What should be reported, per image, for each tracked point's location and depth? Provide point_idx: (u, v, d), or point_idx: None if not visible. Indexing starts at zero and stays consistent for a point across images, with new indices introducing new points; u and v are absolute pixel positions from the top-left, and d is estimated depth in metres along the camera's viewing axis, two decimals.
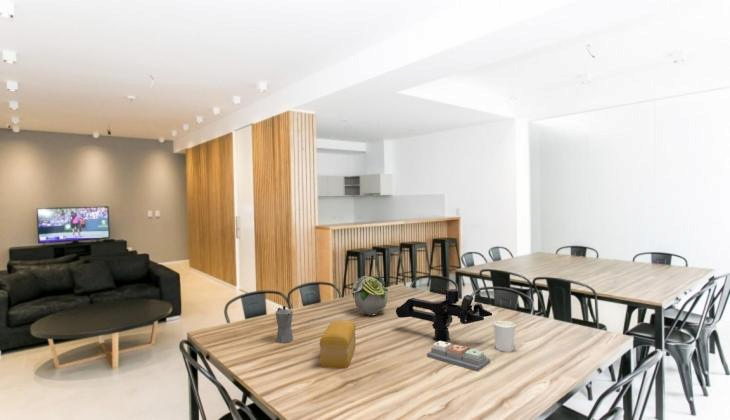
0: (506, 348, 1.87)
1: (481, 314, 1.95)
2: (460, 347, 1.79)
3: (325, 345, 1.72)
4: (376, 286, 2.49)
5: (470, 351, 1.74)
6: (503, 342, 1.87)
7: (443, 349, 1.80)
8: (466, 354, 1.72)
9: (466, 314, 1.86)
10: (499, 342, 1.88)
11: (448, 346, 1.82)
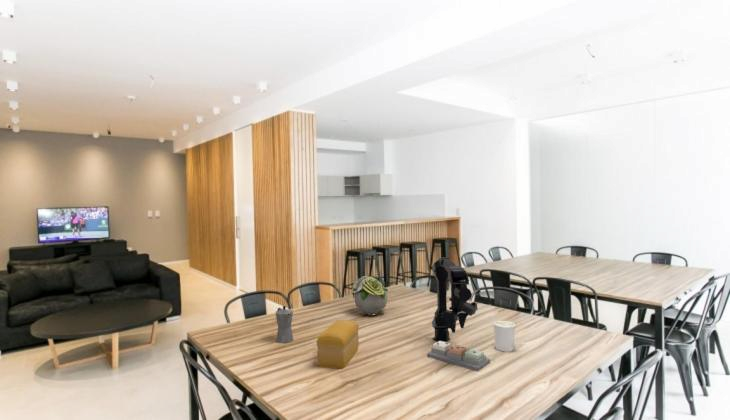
0: (506, 348, 1.87)
1: (459, 315, 1.82)
2: (460, 347, 1.79)
3: (322, 344, 1.73)
4: (376, 286, 2.49)
5: (470, 351, 1.74)
6: (503, 342, 1.87)
7: (443, 349, 1.80)
8: (466, 354, 1.72)
9: None
10: (499, 342, 1.88)
11: (448, 346, 1.82)
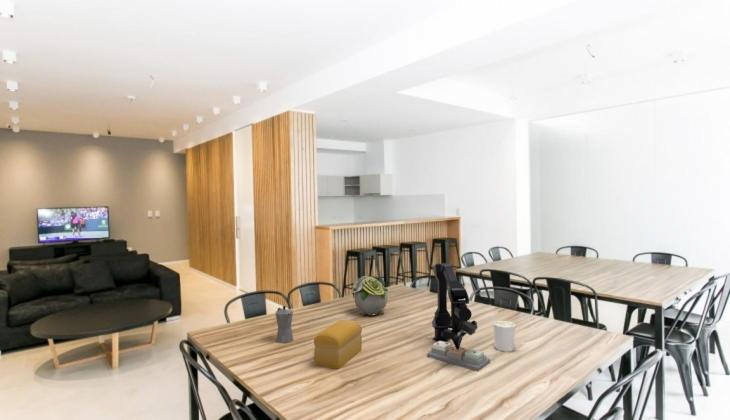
0: (506, 348, 1.87)
1: None
2: (460, 348, 1.79)
3: (318, 343, 1.74)
4: (376, 286, 2.49)
5: (470, 351, 1.74)
6: (503, 342, 1.87)
7: (443, 349, 1.80)
8: (466, 354, 1.72)
9: None
10: (499, 342, 1.88)
11: (448, 346, 1.82)
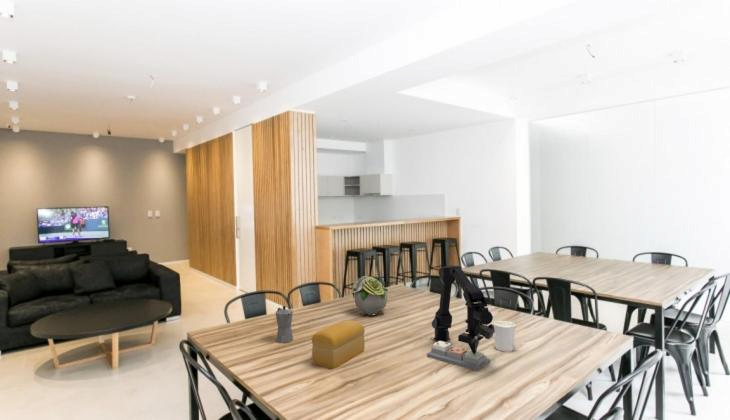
0: (506, 348, 1.87)
1: None
2: (460, 349, 1.79)
3: (315, 342, 1.75)
4: (376, 286, 2.49)
5: (470, 352, 1.74)
6: (503, 342, 1.87)
7: (443, 349, 1.80)
8: (466, 355, 1.73)
9: None
10: (499, 342, 1.88)
11: (448, 346, 1.82)
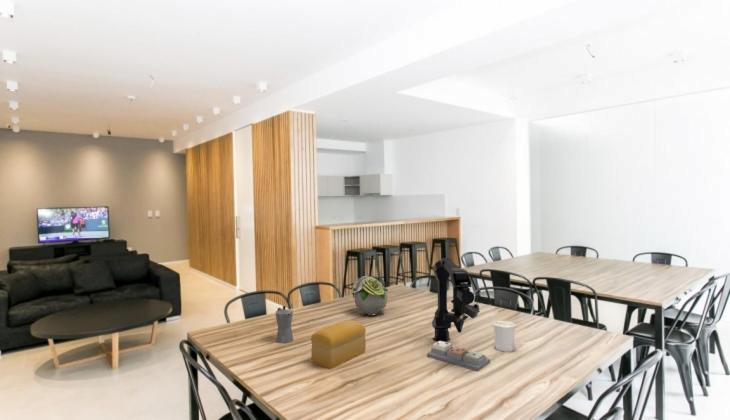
0: (506, 348, 1.87)
1: None
2: (460, 349, 1.79)
3: (314, 341, 1.76)
4: (376, 286, 2.49)
5: (470, 353, 1.74)
6: (503, 342, 1.87)
7: (443, 349, 1.80)
8: (466, 356, 1.73)
9: None
10: (499, 342, 1.88)
11: (448, 346, 1.82)
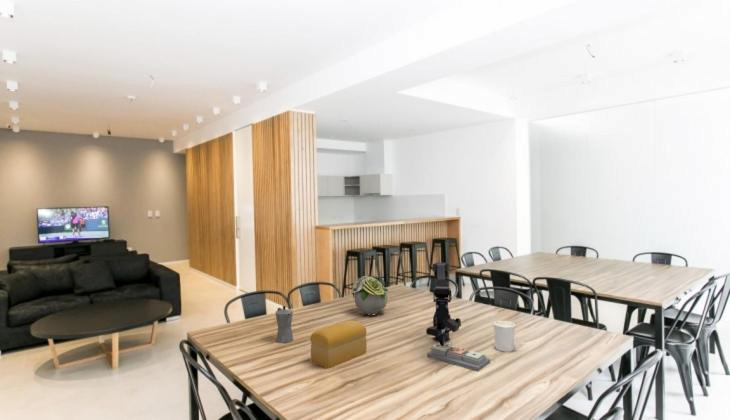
0: (506, 348, 1.87)
1: None
2: (460, 349, 1.79)
3: (313, 341, 1.77)
4: (376, 286, 2.49)
5: (470, 353, 1.74)
6: (503, 342, 1.87)
7: None
8: (466, 356, 1.73)
9: None
10: (499, 342, 1.88)
11: (448, 348, 1.82)
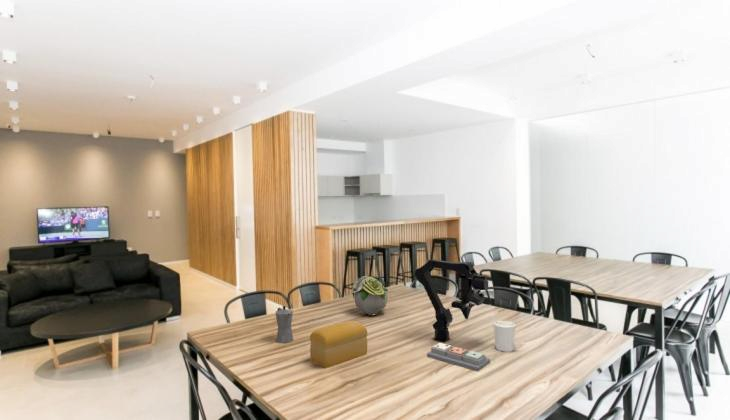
0: (506, 348, 1.87)
1: None
2: (460, 349, 1.79)
3: (312, 340, 1.78)
4: (376, 286, 2.49)
5: (470, 353, 1.74)
6: (503, 342, 1.87)
7: None
8: (466, 356, 1.73)
9: None
10: (499, 342, 1.88)
11: (448, 348, 1.82)
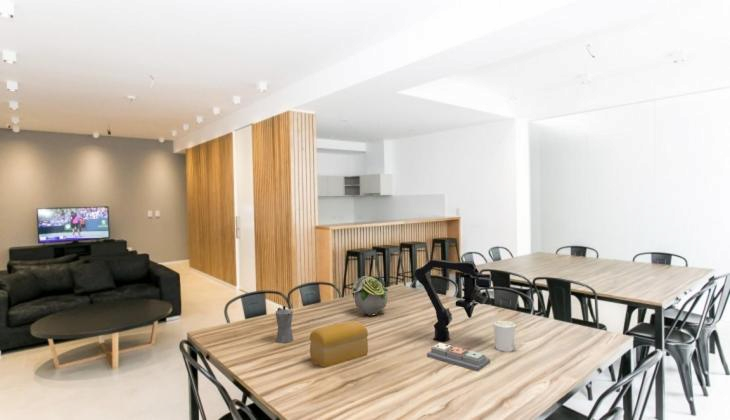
0: (506, 348, 1.87)
1: None
2: (460, 349, 1.79)
3: (312, 339, 1.79)
4: (376, 286, 2.49)
5: (470, 353, 1.74)
6: (503, 342, 1.87)
7: None
8: (466, 356, 1.73)
9: None
10: (499, 342, 1.88)
11: (448, 348, 1.82)
